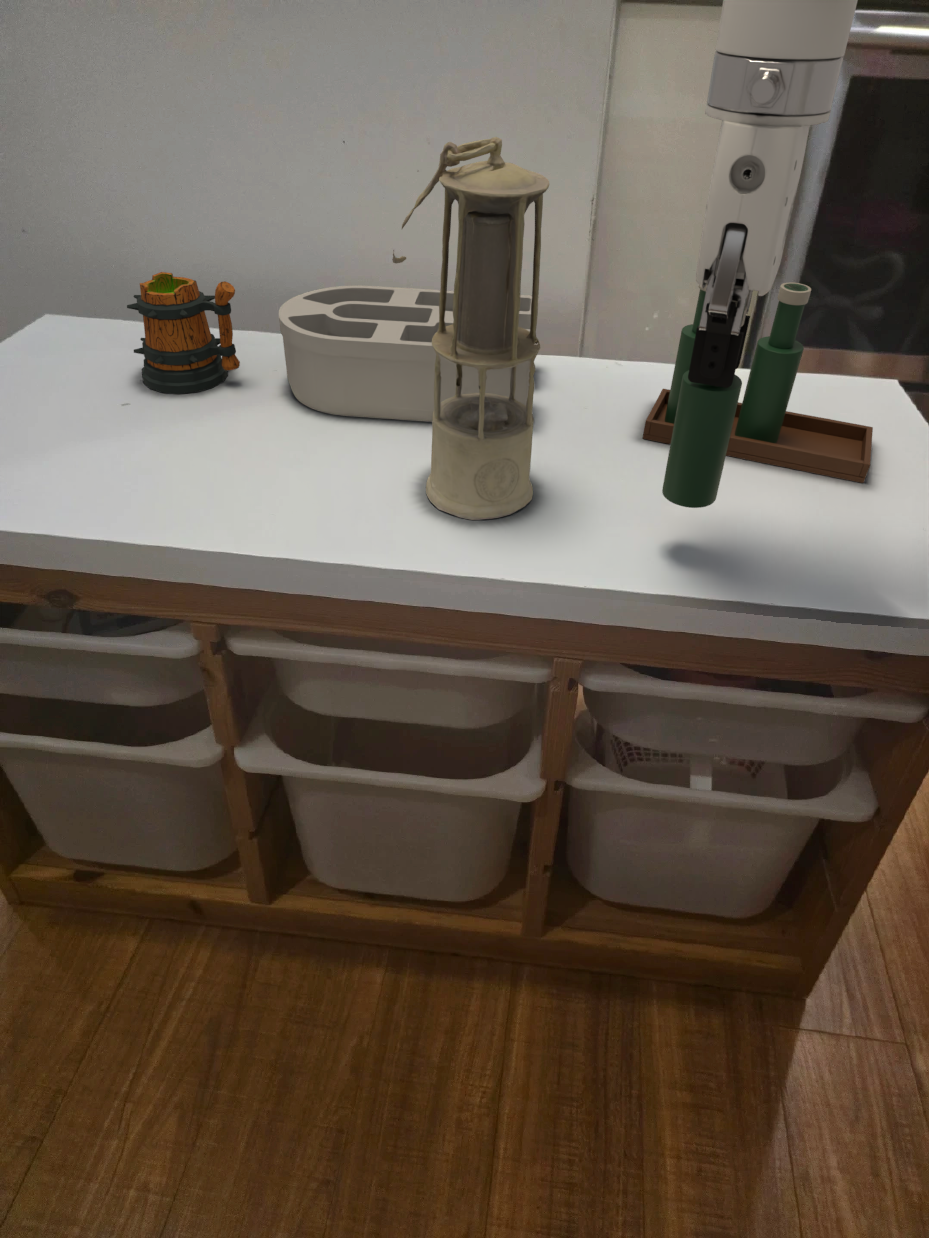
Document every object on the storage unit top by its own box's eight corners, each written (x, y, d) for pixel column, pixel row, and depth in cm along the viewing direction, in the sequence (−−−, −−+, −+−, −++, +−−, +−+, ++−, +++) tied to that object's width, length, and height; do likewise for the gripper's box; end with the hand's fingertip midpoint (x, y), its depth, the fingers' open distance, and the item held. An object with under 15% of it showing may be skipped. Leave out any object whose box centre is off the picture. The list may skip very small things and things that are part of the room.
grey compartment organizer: (527, 431, 91) (533, 352, 86) (269, 413, 93) (259, 334, 87) (533, 368, 104) (539, 296, 98) (306, 353, 106) (300, 281, 100)
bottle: (706, 480, 73) (746, 295, 63) (723, 507, 69) (768, 315, 60) (656, 481, 72) (688, 296, 63) (670, 509, 69) (706, 317, 59)
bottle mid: (768, 426, 92) (809, 279, 82) (783, 446, 89) (828, 295, 79) (728, 427, 92) (764, 279, 82) (742, 447, 88) (782, 295, 79)
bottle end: (698, 413, 94) (730, 268, 84) (711, 432, 91) (745, 283, 81) (659, 414, 94) (686, 268, 84) (670, 433, 90) (700, 283, 81)
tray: (866, 445, 91) (873, 427, 89) (863, 483, 84) (870, 464, 83) (659, 405, 97) (662, 388, 95) (642, 438, 91) (645, 420, 89)
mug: (122, 387, 97) (97, 283, 90) (171, 353, 104) (151, 255, 97) (225, 404, 94) (208, 299, 87) (267, 369, 102) (255, 269, 94)
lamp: (518, 528, 77) (548, 156, 58) (382, 503, 79) (367, 139, 60) (543, 473, 84) (576, 128, 65) (418, 452, 87) (415, 115, 68)
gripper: (826, 114, 46) (750, 428, 57) (842, 78, 58) (776, 345, 69) (686, 104, 48) (639, 409, 60) (729, 71, 60) (683, 331, 71)
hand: (713, 372), depth 64 cm, fingers closed on bottle, 2 cm apart
